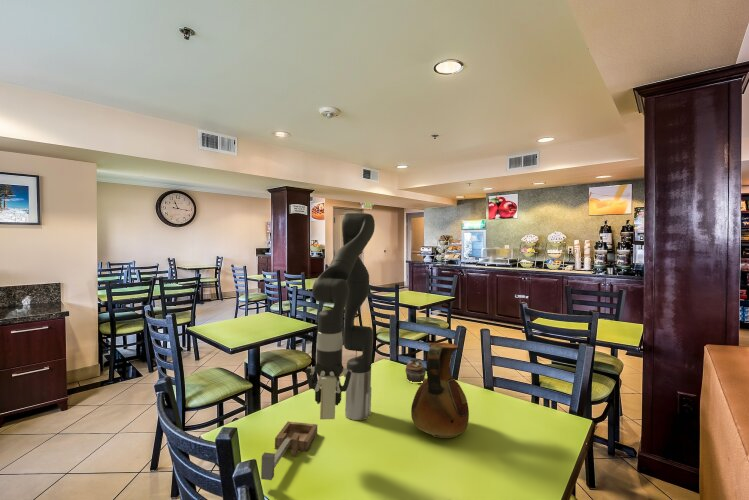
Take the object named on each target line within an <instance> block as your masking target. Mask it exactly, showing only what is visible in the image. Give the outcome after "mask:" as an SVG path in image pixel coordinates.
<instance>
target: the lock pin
mask: <svg viewBox="0 0 749 500" xmlns="http://www.w3.org/2000/svg"><path fill="white" fill-rule="evenodd" d="M290 444H291V439H285V440H284V441H283V443H282V444H281V446H280V447H279V449H277V450H276V452H275V453H273V452H266V451H265V452H264V453H263V454H262V455H261V470H260V476H261V477H260V479H261V480H266V481H272V480H273V479H274V478H275V468H276V466H277V465H278V464H279V462H280V460H281V459H282V457H283V456H284V454H285V453H286V451H288V450H287V448H288V447H289V445H290Z"/></svg>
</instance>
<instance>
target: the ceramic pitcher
mask: <svg viewBox="0 0 749 500" xmlns="http://www.w3.org/2000/svg"><path fill="white" fill-rule="evenodd" d="M427 346H428V347H429V349H428V351H427V354H426V361H425V364H426V367H425V368H426V377H427V378H426V379H424V381H423V383H421V384H419V387H418V388H417V390H416V392H415V394H414V398H413V401H412V403H411V407H410V408H411V409H410V414H411V416H410V417H411V419H412V423H413V424H414V425H415V427H416V428H417V429H418V430H419V431H422V432H424V433H426V434H428V435H432V436H433V437H435V438H441V439H450V438H454V437H456V436H459V435H461V434H463V433H464V432H465V431H466V430H467V428H468V425H469V418H470V411H469V403H468V400H467V396H466V393H465V391H464V390H463V388H462V387H461V385H460V384H459V383H458V381H456V379H455V378H453V376H452V372H451V362H452V356H453V354H454V353H455V352H456V350H459V346H458V345H457V344H452V343H449V342H427Z"/></svg>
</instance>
